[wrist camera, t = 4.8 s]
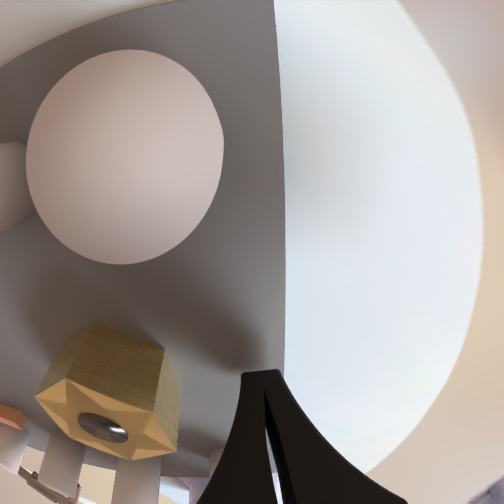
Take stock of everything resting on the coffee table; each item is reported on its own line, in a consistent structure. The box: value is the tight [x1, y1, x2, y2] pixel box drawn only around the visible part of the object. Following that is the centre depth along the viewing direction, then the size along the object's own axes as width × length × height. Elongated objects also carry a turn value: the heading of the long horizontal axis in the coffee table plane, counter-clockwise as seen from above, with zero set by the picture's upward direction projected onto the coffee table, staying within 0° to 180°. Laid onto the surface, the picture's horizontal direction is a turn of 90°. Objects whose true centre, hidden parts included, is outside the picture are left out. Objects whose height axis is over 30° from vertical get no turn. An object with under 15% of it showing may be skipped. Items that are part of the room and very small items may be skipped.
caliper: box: [17, 466, 81, 504], centre depth 16 cm, size 20×1×6 cm, turn 70°
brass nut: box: [34, 321, 181, 460], centre depth 9 cm, size 6×5×3 cm
